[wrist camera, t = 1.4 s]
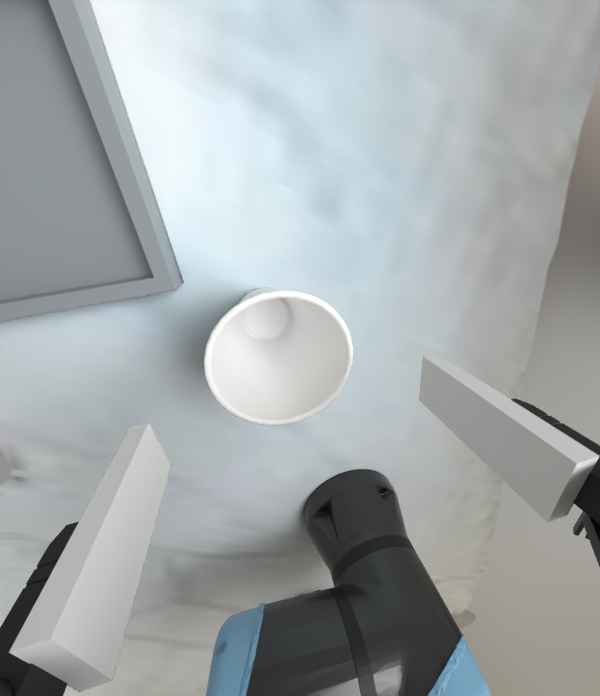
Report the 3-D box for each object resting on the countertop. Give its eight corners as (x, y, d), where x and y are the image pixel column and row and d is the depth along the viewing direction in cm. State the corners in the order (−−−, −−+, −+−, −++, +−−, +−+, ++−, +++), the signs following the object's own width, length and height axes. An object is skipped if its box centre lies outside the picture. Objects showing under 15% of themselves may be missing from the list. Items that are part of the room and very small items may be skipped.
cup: (293, 368, 30) (320, 435, 20) (205, 346, 27) (186, 413, 17) (327, 287, 27) (378, 319, 17) (232, 250, 24) (228, 265, 14)
